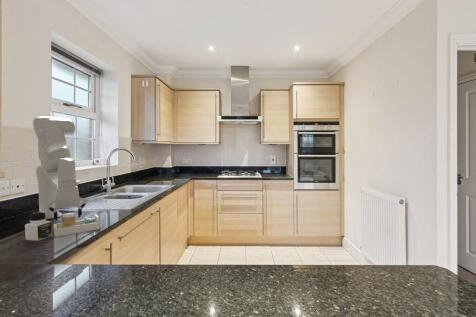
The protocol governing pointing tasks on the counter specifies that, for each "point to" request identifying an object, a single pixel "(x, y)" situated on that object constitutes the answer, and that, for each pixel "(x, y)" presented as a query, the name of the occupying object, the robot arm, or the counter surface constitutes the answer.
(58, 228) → the lane
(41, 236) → the medicine bottle
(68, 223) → the jar
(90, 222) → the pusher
